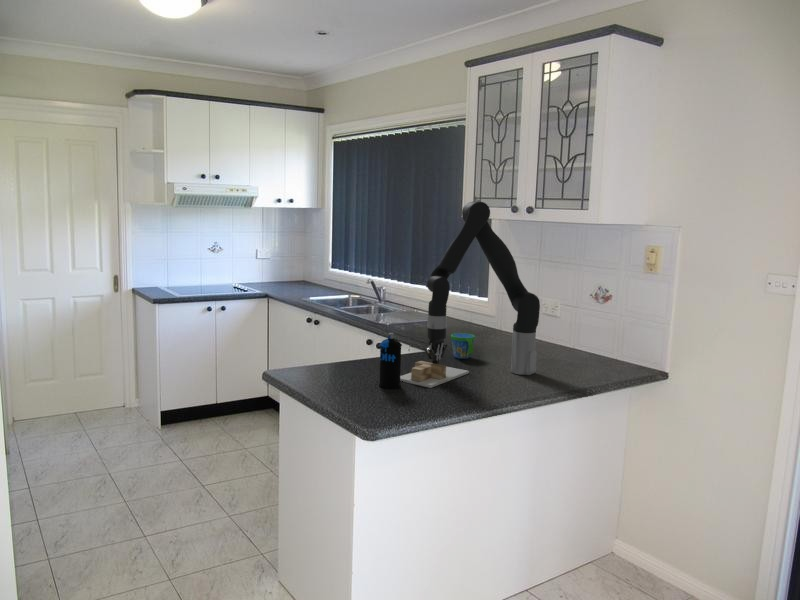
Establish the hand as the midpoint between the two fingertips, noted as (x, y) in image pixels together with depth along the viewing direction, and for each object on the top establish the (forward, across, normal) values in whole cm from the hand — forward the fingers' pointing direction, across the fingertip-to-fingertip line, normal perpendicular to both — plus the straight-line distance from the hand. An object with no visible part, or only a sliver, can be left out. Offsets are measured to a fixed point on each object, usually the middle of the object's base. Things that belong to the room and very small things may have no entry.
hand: (435, 369), depth 262 cm
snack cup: (+3, +34, +8) cm, 35 cm away
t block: (+2, -8, 0) cm, 8 cm away
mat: (+3, -2, 0) cm, 3 cm away
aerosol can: (+3, -24, +5) cm, 24 cm away
